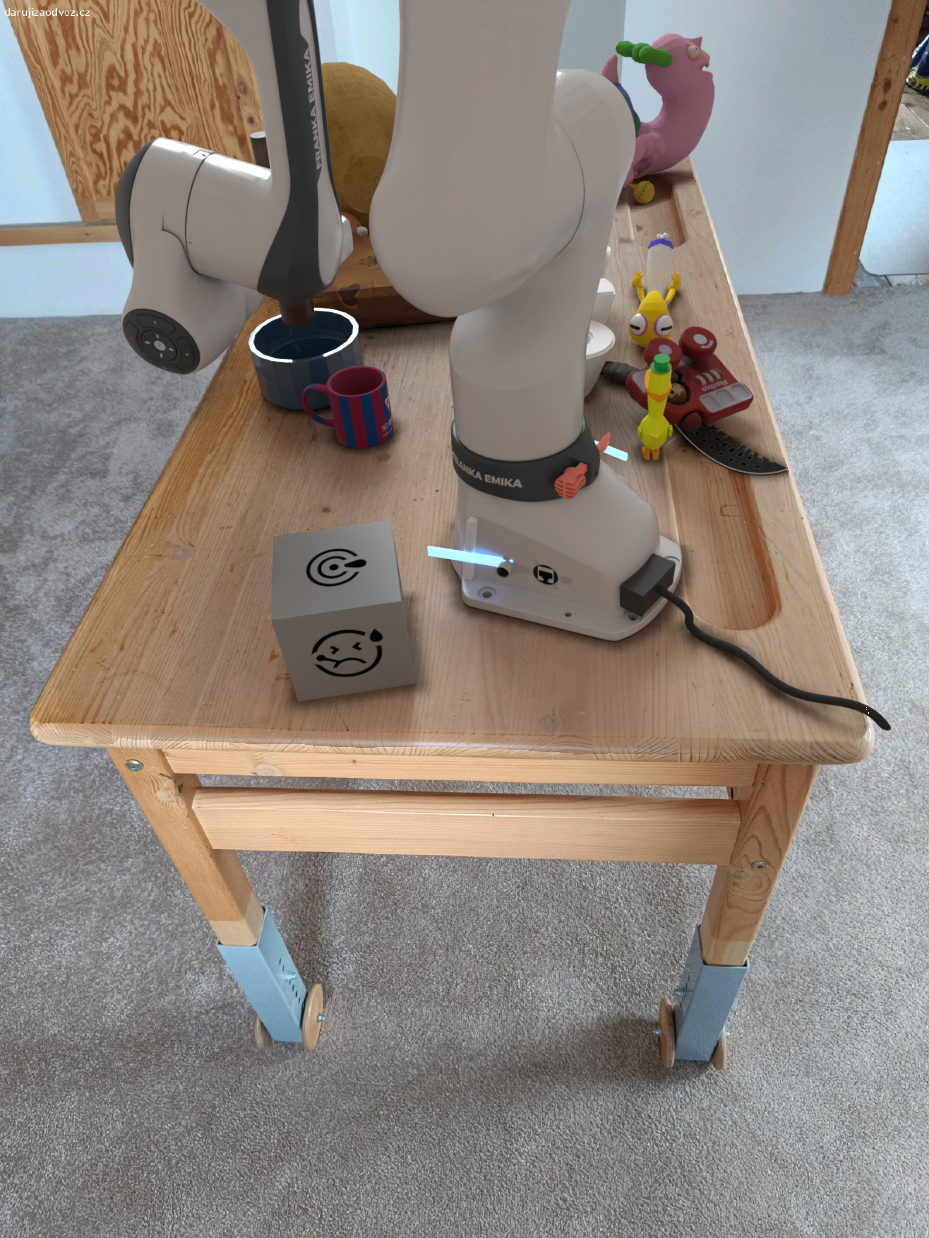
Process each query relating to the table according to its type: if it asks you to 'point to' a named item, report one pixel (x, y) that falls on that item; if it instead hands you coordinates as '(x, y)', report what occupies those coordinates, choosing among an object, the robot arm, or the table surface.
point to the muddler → (290, 314)
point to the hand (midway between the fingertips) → (279, 212)
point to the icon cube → (340, 610)
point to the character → (654, 294)
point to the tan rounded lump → (357, 133)
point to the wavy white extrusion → (599, 331)
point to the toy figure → (656, 407)
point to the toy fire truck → (692, 381)
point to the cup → (356, 406)
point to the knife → (705, 434)
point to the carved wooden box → (369, 292)
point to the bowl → (304, 356)
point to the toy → (667, 104)
